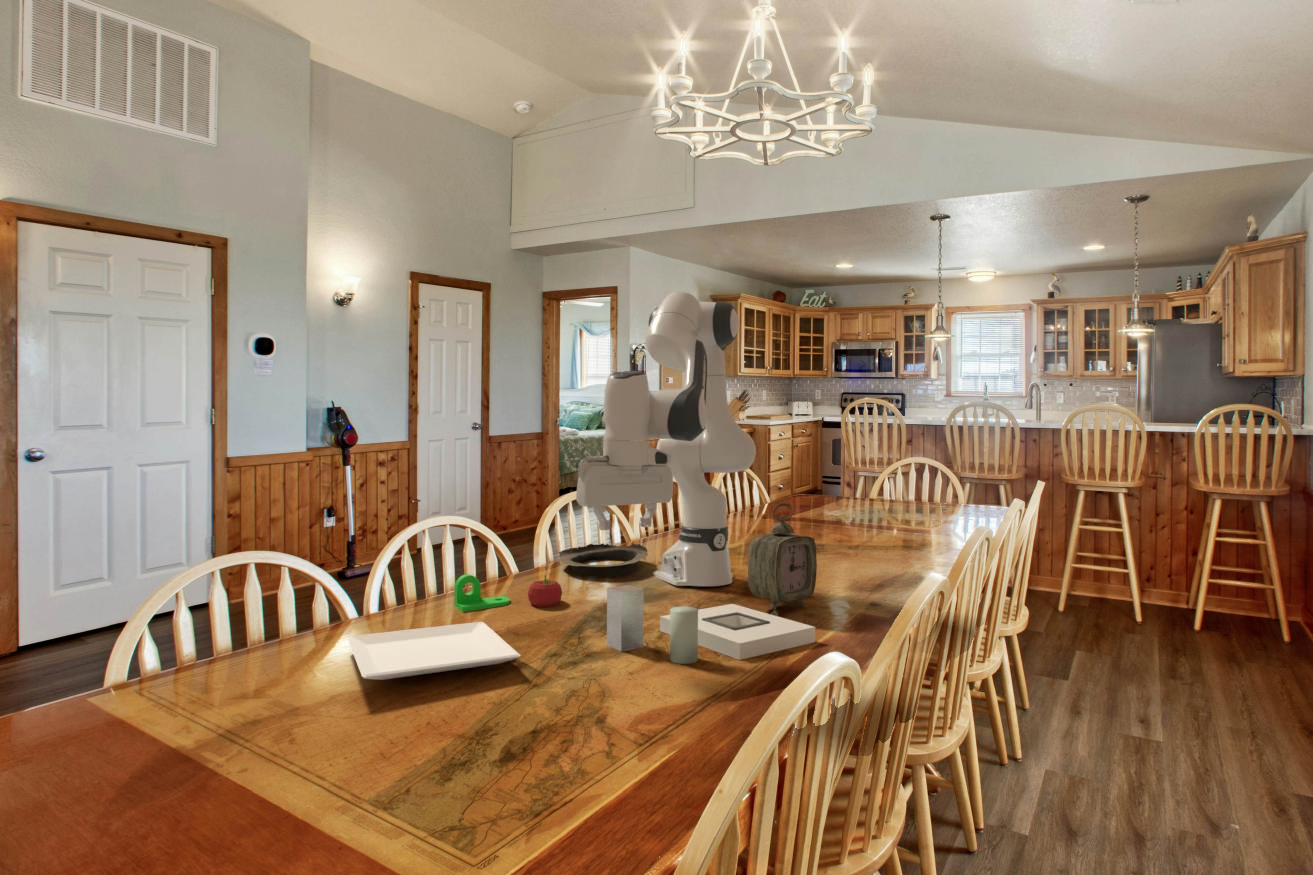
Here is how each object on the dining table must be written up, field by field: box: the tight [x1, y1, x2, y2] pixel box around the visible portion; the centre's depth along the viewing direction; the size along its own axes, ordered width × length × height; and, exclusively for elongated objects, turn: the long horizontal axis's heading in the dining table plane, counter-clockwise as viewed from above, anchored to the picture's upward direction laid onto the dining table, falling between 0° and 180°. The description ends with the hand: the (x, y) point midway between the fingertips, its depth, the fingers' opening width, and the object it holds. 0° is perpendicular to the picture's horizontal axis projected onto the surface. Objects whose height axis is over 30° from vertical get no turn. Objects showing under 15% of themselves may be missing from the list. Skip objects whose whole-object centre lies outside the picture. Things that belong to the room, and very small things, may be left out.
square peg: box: [606, 584, 645, 653], centre depth 143 cm, size 5×5×11 cm
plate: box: [346, 621, 522, 680], centre depth 137 cm, size 26×26×2 cm
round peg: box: [669, 606, 699, 665], centre depth 135 cm, size 5×5×9 cm
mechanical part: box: [453, 573, 511, 613], centre depth 172 cm, size 12×6×8 cm, turn 122°
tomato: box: [527, 574, 563, 608], centre depth 174 cm, size 8×8×8 cm
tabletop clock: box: [747, 502, 818, 617], centre depth 171 cm, size 14×9×25 cm, turn 131°
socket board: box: [659, 603, 816, 661], centre depth 151 cm, size 24×20×3 cm
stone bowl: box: [557, 543, 649, 578], centre depth 205 cm, size 25×25×9 cm
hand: (625, 528), depth 143 cm, fingers open, 8 cm apart
